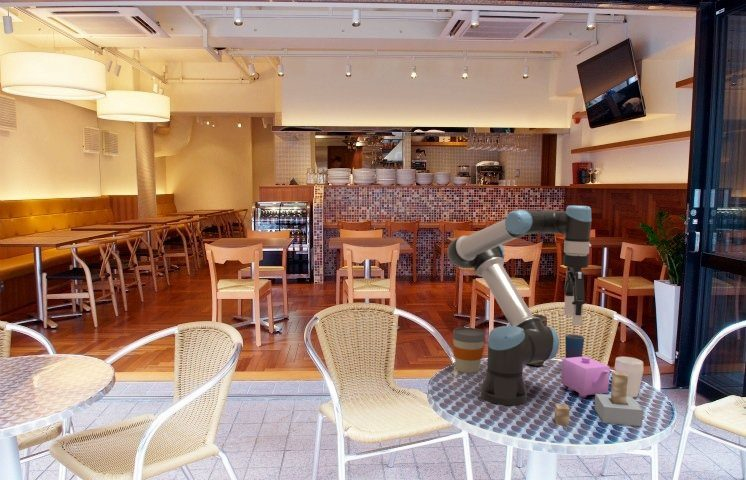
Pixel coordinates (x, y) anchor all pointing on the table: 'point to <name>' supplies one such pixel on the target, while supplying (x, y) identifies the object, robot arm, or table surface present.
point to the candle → (544, 321)
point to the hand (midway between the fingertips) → (572, 320)
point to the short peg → (562, 414)
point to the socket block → (618, 411)
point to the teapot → (585, 376)
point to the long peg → (619, 388)
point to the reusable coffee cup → (468, 348)
